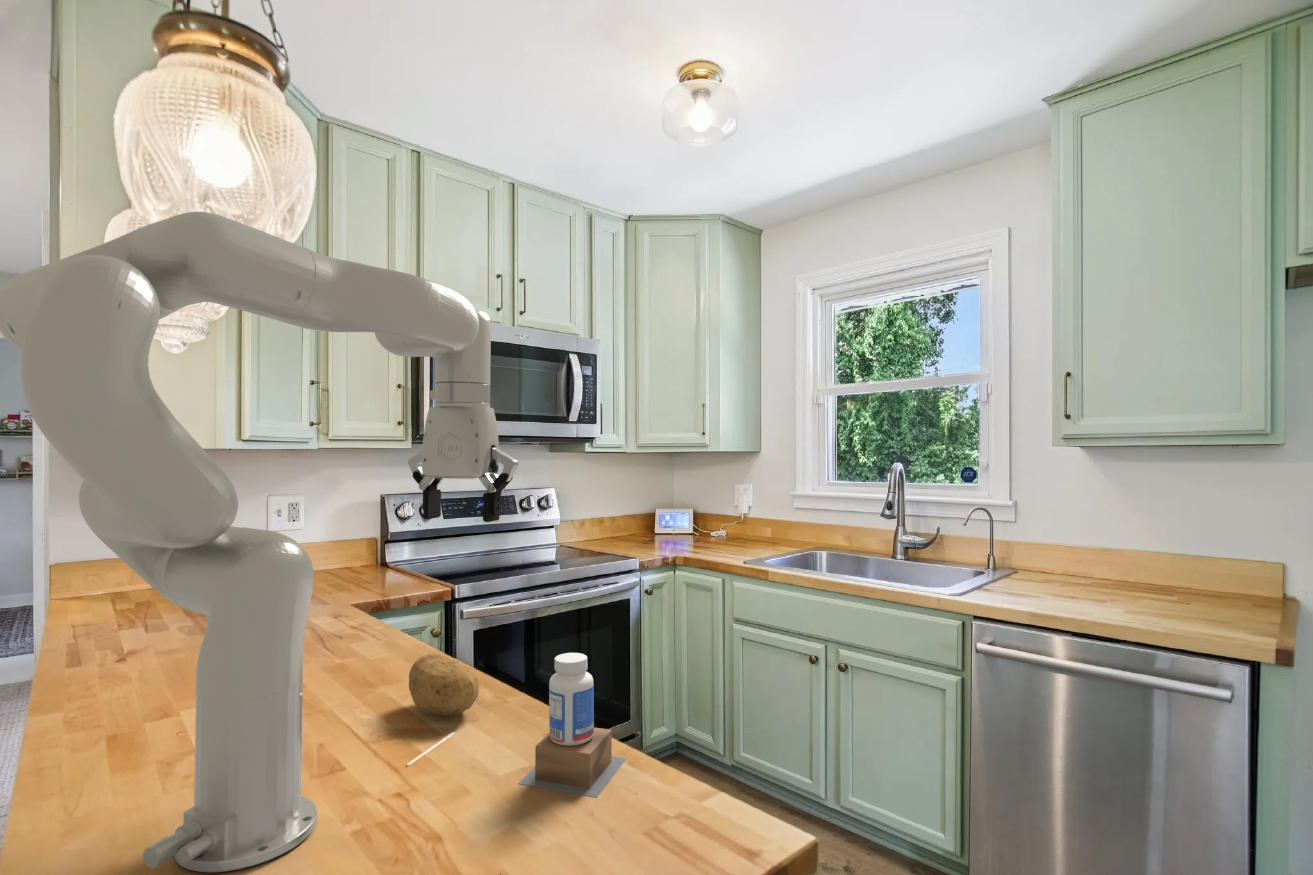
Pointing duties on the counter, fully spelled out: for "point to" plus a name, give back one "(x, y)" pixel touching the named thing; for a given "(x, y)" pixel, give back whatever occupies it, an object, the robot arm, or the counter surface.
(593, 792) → the baseplate
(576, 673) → the pill bottle
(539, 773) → the brown square block
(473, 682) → the potato
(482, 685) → the counter surface
